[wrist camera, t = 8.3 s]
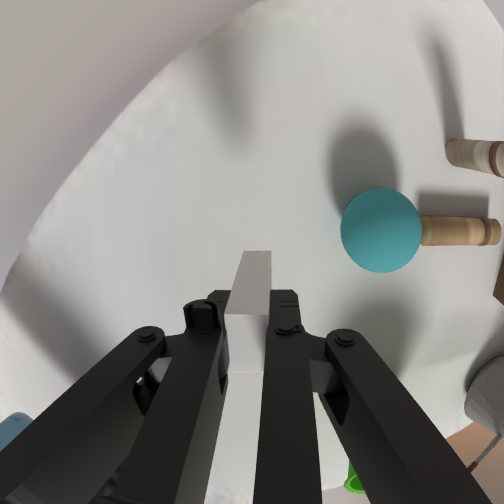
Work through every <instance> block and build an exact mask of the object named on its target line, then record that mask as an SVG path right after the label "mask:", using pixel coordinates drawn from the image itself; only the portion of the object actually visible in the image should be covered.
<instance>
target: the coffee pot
mask: <svg viewBox="0 0 504 504" xmlns="http://www.w3.org/2000/svg"><path fill="white" fill-rule="evenodd" d="M464 409H465V415H466V416H467V417H469V418H470V419H471V420H473V421H474V422H476V423H477V424H479V425H481V426H482V427H484V428H485V429H487V430H488V431H490V432H491V433H493V434H494V435H496V437H495V438H494V439H493V440H492V442H491V443H490V444H489V446H488V447H487V448H486V449H485V450H484V451H483V452H482V454H481V455H480V456H479V457H478V458H477V459H476V460H475V461H474V462H473V463H472V464H471V465H470V466H469V467H468V468H467V469H468V470H469V472H470V473H471V472H472V471H473V470H474V469H475V468H476V466H477V465H478V463H480V462H481V460H482V459H483V458H484V457H485V456H486V455H487V454H488V453H489V452H490V451H491V450H492V448H493V447H494V446H495V445H496V444H497V443H498V442H499V440H500V439H502V440H503V441H504V356H500V357H498V358H496V359H494V360H492V361H491V362H489V363H488V364H487V365H486V366H485V367H484V368H482V369H481V370H480V372H479V373H478V374H477V375H476V376H475V378H474V379H473V381H472V383H471V385H470V387H469V391H468V393H467V396H466V399H465V403H464Z"/></svg>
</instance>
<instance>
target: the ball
mask: <svg viewBox="0 0 504 504" xmlns="http://www.w3.org/2000/svg"><path fill="white" fill-rule="evenodd" d="M421 235H422V227H421V221H420V217H419V214H418V212H417V210H416V208H415V207H414V205H413V204H412V203H411V201H410V200H409V199H408V198H406V197H405V196H404V195H403V194H401V193H399V192H397V191H395V190H392V189H388V188H373V189H369V190H366V191H364V192H362V193H360V194H359V195H357V196H356V197H355V198H354V199H353V200H352V201H351V202H350V203H349V204H348V206H347V208H346V209H345V211H344V214H343V217H342V221H341V238H342V243H343V245H344V248H345V250H346V252H347V253H348V255H349V256H350V258H351V259H352V260H353V261H354V262H355V263H357V264H358V265H359V266H361V267H362V268H364V269H366V270H369V271H372V272H377V273H387V272H392V271H395V270H397V269H399V268H401V267H403V266H404V265H406V264H407V263H408V262H409V261H410V260H411V259H412V258H413V256H414V255H415V253H416V252H417V250H418V247H419V245H420V241H421Z"/></svg>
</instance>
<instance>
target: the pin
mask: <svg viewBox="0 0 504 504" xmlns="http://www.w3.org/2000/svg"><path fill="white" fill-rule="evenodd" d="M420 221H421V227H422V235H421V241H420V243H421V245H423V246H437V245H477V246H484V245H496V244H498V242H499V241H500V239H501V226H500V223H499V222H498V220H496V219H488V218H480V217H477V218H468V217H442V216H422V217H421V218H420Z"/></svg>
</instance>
